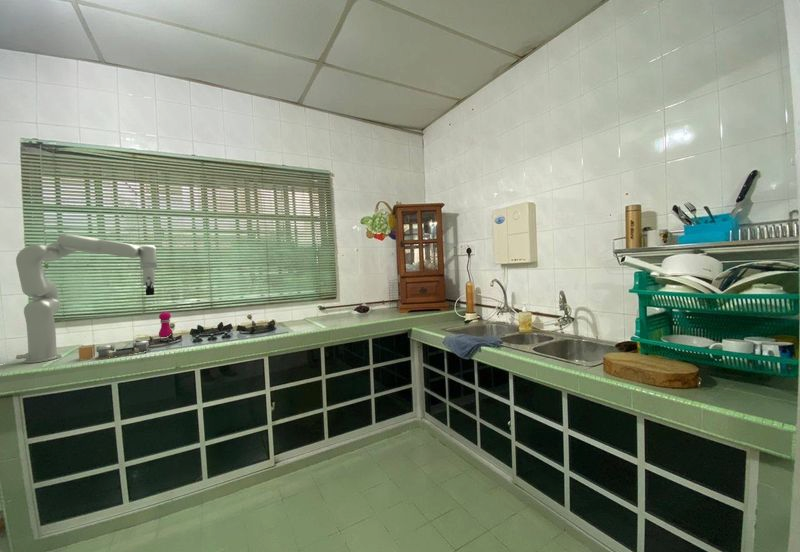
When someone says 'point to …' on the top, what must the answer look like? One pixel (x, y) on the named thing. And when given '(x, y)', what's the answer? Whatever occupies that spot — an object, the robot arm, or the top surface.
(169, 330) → the pepper mill
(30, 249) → the robot arm
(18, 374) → the top surface
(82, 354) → the block
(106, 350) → the shaft bench
